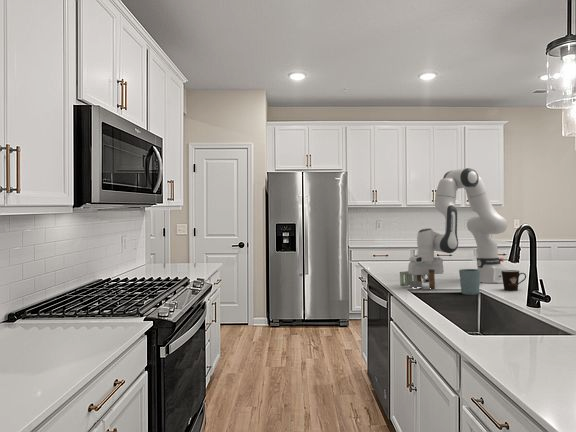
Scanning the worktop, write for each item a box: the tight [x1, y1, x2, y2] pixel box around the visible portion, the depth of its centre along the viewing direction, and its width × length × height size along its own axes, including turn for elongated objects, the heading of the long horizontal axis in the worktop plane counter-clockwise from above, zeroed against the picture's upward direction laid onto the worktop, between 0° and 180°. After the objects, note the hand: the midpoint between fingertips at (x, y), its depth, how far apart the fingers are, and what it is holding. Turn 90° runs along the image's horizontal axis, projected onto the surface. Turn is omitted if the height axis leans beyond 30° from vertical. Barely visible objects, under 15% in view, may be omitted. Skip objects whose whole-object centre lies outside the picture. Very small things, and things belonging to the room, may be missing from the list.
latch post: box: [428, 269, 436, 290], centre depth 263 cm, size 4×5×11 cm
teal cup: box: [458, 268, 481, 296], centre depth 246 cm, size 10×10×12 cm
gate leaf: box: [399, 270, 417, 287], centre depth 273 cm, size 2×10×8 cm, turn 113°
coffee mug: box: [501, 269, 527, 292], centre depth 251 cm, size 12×9×10 cm
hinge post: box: [417, 275, 423, 283], centre depth 276 cm, size 3×3×11 cm
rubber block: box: [410, 281, 423, 288], centre depth 267 cm, size 4×4×4 cm
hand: (426, 282), depth 268 cm, fingers closed
